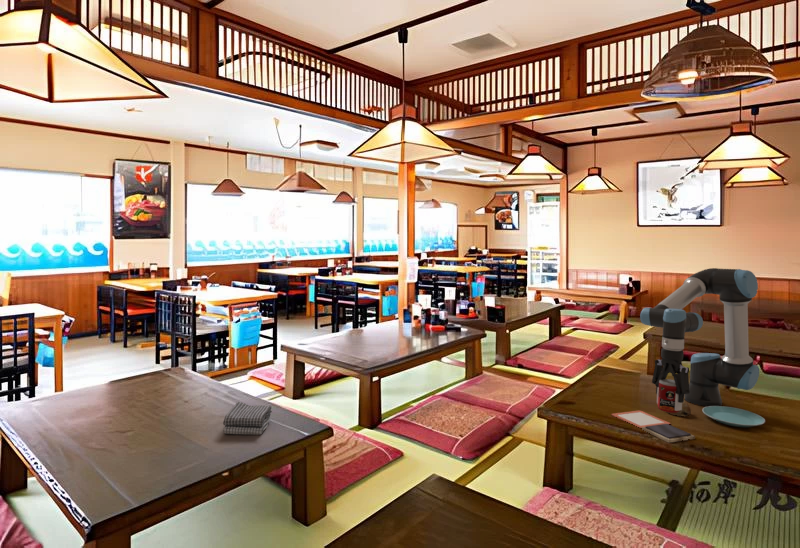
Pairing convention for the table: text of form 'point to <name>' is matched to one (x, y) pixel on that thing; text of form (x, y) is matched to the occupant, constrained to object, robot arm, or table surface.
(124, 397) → the table surface
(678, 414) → the bread roll
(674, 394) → the canned food
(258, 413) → the towel
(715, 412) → the plate
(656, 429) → the ink pad
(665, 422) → the print sheet
